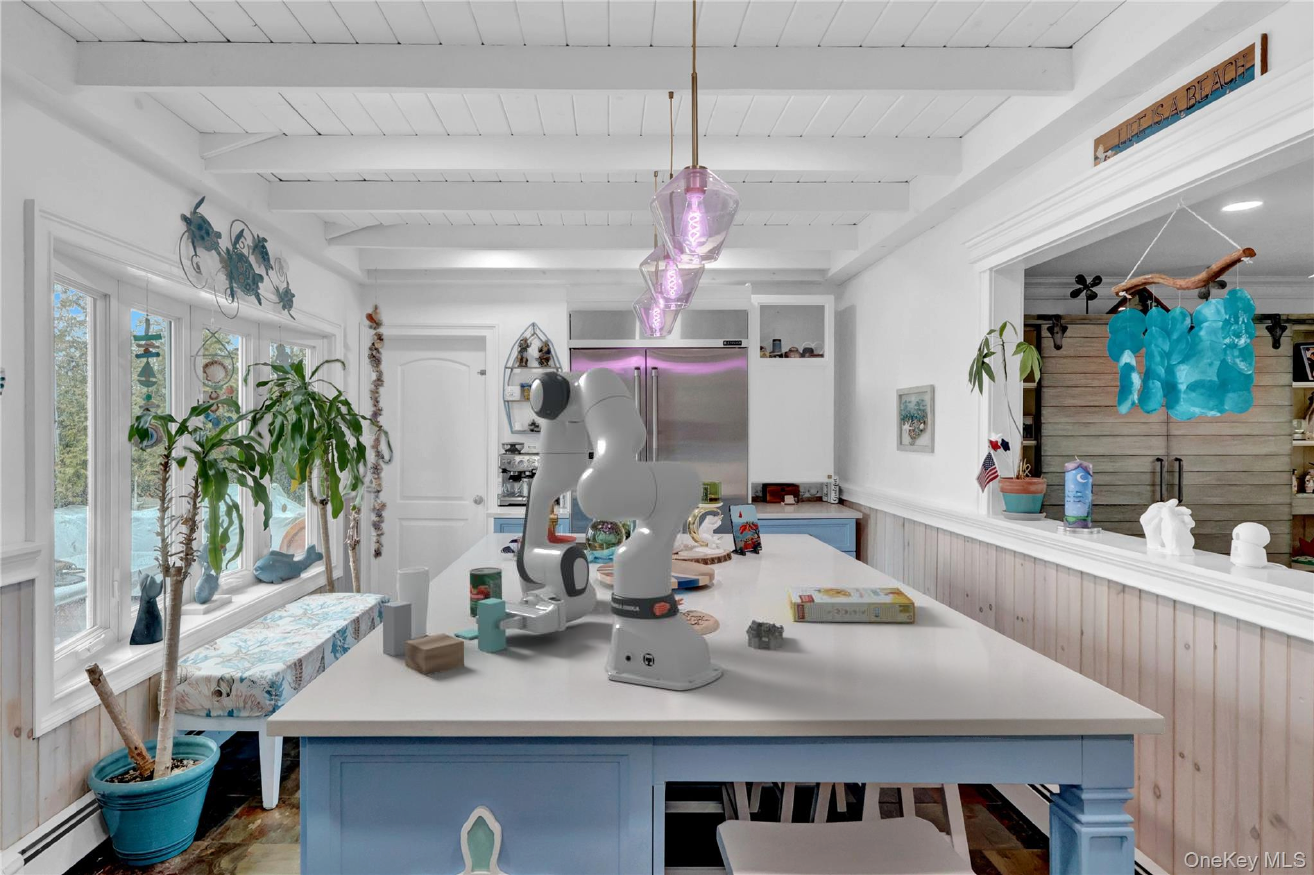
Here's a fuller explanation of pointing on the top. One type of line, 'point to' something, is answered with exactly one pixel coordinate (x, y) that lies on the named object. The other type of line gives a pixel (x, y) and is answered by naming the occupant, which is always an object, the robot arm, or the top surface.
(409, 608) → the grey block
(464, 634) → the tile
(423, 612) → the drinking glass
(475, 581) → the canned tomato
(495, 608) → the teal block
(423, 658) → the base block
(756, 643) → the egg carton
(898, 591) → the cereal box
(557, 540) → the citrus juicer
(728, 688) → the top surface
